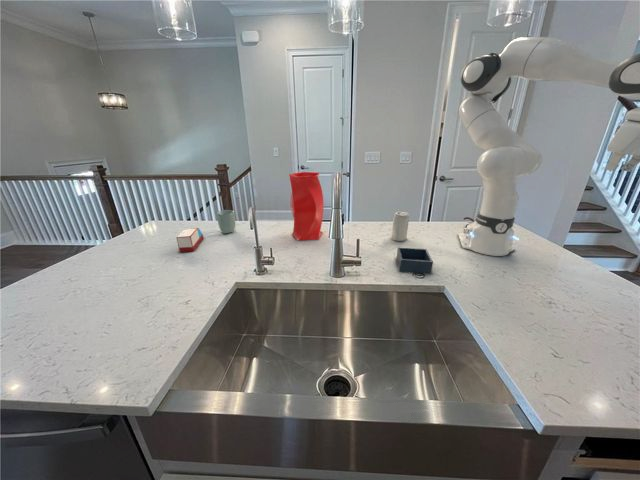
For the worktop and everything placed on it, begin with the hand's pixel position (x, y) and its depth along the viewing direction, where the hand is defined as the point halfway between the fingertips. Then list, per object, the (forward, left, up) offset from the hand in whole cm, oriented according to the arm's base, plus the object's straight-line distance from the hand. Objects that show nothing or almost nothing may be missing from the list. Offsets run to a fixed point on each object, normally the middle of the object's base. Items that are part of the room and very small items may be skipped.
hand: (617, 170), depth 73 cm
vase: (-23, -95, -34) cm, 103 cm away
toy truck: (-6, -143, -34) cm, 147 cm away
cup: (-23, -135, -34) cm, 140 cm away
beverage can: (-24, -54, -34) cm, 67 cm away
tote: (+1, -52, -33) cm, 61 cm away
